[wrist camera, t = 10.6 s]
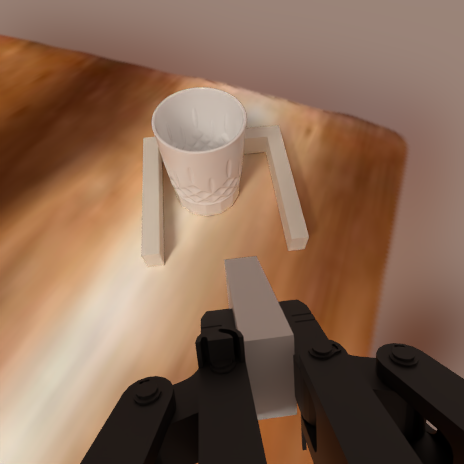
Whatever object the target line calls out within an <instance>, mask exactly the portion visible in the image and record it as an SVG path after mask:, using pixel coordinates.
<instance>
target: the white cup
mask: <svg viewBox="0 0 464 464" xmlns="http://www.w3.org/2000/svg"><path fill="white" fill-rule="evenodd" d="M246 122H247V116H246V111H245V109H244V107H243V105H242V104H241V102H240V101H239V100H238V99H237V98H235V97H234V96H233V95H231V94H229V93H227V92H225V91H222V90H219V89H215V88H208V87H196V88H189V89H185V90H181V91H178V92H176V93H174V94H172V95H170V96H168V97H167V98H165V99H164V100H163V101H162V102H161V103H160V104H159V105H158V106H157V108H156V109H155V111H154V113H153V116H152V129H153V132H154V135H155V138H156V141H157V144H158V147H159V150H160V153H161V156H162V159H163V162H164V165H165V167H166V170H167V173H168V175H169V178H170V181H171V183H172V186H173V187H174V189H175V192H176V195H177V197H178V199H179V201H180V203H181V205H182V207H184V208H185V209H187V210H188V211H190V212H191V213H193V214H197V215H203V216H211V215H216V214H220V213H222V212H224V211H225V210H227V209H228V208H230V207H231V206H233V204H234V202H235V200H236V198H237V197H238V195H239V182H240V178H241V173H242V164H243V157H244V145H245V133H246Z"/></svg>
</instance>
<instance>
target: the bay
mask: <svg viewBox="0 0 464 464" xmlns="http://www.w3.org/2000/svg"><path fill="white" fill-rule="evenodd" d="M261 152H266V156H267V160H268V164H269V169H270V173H271V178H272V182H273V186H274V191H275V195H276V199H277V204H278V208H279V213H280V217H281V221H282V226H283V230H284V234H285V239H286V243H287V248H288V251H292V250H301V249H305V246H306V244H307V241H308V238H309V235H308V231H307V228H306V224H305V220H304V217H303V213H302V209H301V205H300V202H299V198H298V194H297V191H296V187H295V183H294V179H293V176H292V172H291V168H290V165H289V161H288V157H287V153H286V150H285V146H284V142H283V139H282V135H281V131H280V128H279V125H275V126H265V127H254V128H246V133H245V145H244V154H251V153H261ZM162 162H163V159H162V156H161V153H160V150H159V147H158V144H157V141H156V138H155V137H147V138H143V193H142V252H141V256H142V258H143V259H144V261H145V263H146V265H147V267H151V266H160V265H164V220H163V172H162Z"/></svg>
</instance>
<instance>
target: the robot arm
mask: <svg viewBox="0 0 464 464" xmlns="http://www.w3.org/2000/svg"><path fill="white" fill-rule="evenodd" d="M224 261H225V272H226V282H227V292H228V302H229V309H223V310H215V311H207V312H206V313H205V314H204V316H203V317H202V318H201V334H200V335H199V336H198V337H197V339H196V342H195V344H196V351H197V359H198V366H199V369H198V370H197V371H196V372H195V374H194V375H192V376H191V377H190V378H188V379H186V380H184V381H182V382H180V383H177V384H174V385H172V383H171V382H170V381H169V380H167V379H166V378H163V377H158V376H154V377H147V378H144V379H141V380H138V381H137V382H135V383H133V384H132V385H130V386H129V387H128V388H127V390H126V391H125V392H124V393H123V395H122V396H121V398H120V399H119V401H118V403H117V404H116V406H115V408H114V409H113V411H112V412H111V414H110V416H109V417H108V419H107V421H106V422H105V424H104V426H103V427H102V429H101V430H100V432H99V434H98V435H97V437H96V439H95V440H94V442H93V444H92V445H91V447H90V448H89V450H88V452H87V453H86V455H85V457H84V458H83V460H82V461H81V463H80V464H196V463H198V464H267V462H266V458H265V453H264V448H263V443H262V438H261V433H260V429H259V424H258V420H261V419H268V418H275V417H282V416H289V415H296V414H297V403H298V406H299V409H300V411H301V430H302V448H303V450H307V449H306V442H307V445H308V448H309V451H310V454H311V457H312V460H313V462H314V464H464V379H463V378H461V377H460V376H458V375H457V374H455V373H454V372H452V371H451V370H449V369H448V368H446V367H445V366H443V365H442V364H440V363H439V362H437V361H436V360H434V359H433V358H431V357H430V356H428V355H427V354H425V353H424V352H422V351H421V350H419V349H416V348H414V347H412V346H408V345H405V344H396V343H393V344H386V345H383V346H382V347H380V348H379V349H378V351H377V353H376V358H369V357H359V356H352V355H349V354H348V353H347V352H346V350H345V349H344V348H343V347H342V346H341V345H340V344H339V343H337V342H334V341H332V340H328V338H327V336H326V335H325V333H324V332H323V330H322V329H321V327H320V325H319V324H318V322H317V321H316V320H315V318H314V316H313V314H311V311H310V310H309V308H308V307H307V305H305V304H304V303H302V302H300V301H299V300H289V301H281V302H278V301H277V299H276V296H275V294H274V292H273V290H272V288H271V286H270V284H269V282H268V280H267V278H266V275H265V273H264V271H263V269H262V267H261V265H260V263H259V261H258V259H257V256H253V257H244V258H235V259H226V260H224ZM296 401H297V402H296ZM426 419H427V420H428V421H429V422H430V423H431V424H432V425H433V426H435V427H436V428H437V431H436V430H434V429H432V428H431V427H430V426H429V425H428V424H427V423H426Z"/></svg>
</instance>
